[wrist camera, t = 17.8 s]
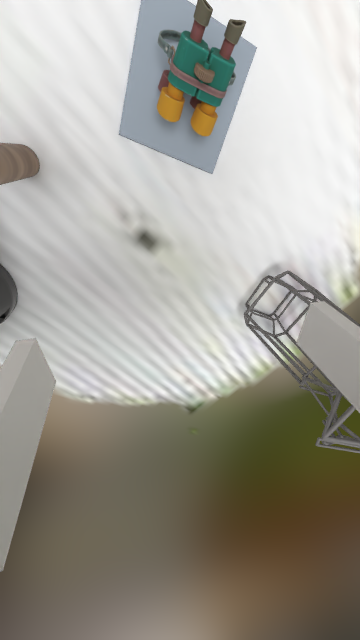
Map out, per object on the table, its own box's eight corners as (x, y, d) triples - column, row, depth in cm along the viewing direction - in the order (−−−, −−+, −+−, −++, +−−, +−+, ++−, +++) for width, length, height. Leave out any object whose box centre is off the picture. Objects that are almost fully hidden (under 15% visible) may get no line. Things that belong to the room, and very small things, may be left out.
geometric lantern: (268, 250, 46) (503, 401, 18) (315, 281, 53) (537, 424, 25) (221, 313, 52) (343, 497, 25) (269, 333, 59) (406, 494, 32)
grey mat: (119, 134, 32) (119, 134, 31) (145, -25, 25) (146, -28, 25) (211, 173, 37) (212, 173, 36) (254, 49, 30) (256, 47, 29)
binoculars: (150, 71, 30) (145, 116, 26) (174, -53, 22) (172, -16, 18) (215, 103, 33) (220, 148, 29) (257, 4, 25) (271, 47, 21)
